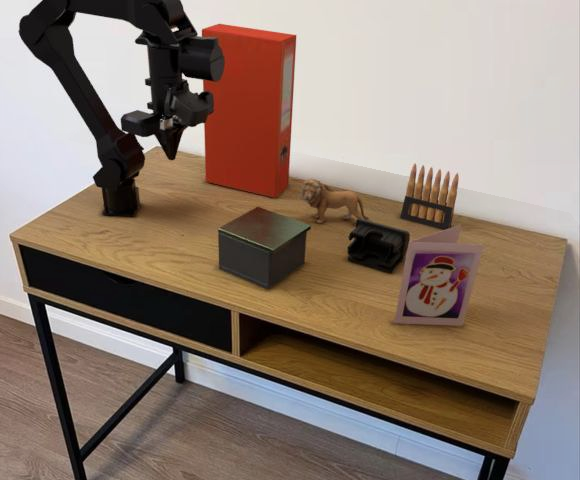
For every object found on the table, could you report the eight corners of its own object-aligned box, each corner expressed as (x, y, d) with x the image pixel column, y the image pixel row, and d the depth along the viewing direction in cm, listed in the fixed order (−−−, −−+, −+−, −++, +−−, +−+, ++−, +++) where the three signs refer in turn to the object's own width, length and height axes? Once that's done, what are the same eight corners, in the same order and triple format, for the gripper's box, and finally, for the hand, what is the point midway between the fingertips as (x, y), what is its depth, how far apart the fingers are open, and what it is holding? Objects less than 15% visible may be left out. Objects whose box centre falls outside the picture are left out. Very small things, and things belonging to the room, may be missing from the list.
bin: (304, 263, 119) (307, 228, 114) (268, 289, 111) (269, 252, 106) (257, 245, 123) (257, 210, 119) (218, 268, 116) (218, 232, 111)
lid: (310, 229, 114) (311, 225, 113) (273, 254, 106) (273, 249, 106) (257, 210, 119) (257, 206, 118) (217, 232, 111) (217, 228, 111)
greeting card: (394, 326, 104) (409, 244, 95) (389, 301, 110) (402, 222, 101) (463, 328, 104) (485, 247, 95) (454, 303, 110) (473, 225, 101)
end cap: (406, 258, 122) (412, 226, 118) (393, 274, 117) (399, 241, 113) (358, 244, 125) (362, 213, 121) (344, 259, 120) (347, 227, 116)
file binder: (222, 171, 152) (220, 22, 132) (288, 185, 147) (296, 34, 127) (205, 182, 146) (200, 29, 126) (274, 198, 141) (279, 41, 121)
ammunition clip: (400, 218, 136) (409, 163, 129) (403, 214, 137) (412, 160, 130) (448, 230, 132) (460, 175, 125) (451, 227, 134) (463, 172, 126)
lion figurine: (300, 226, 131) (302, 184, 125) (298, 214, 135) (300, 174, 129) (370, 227, 132) (376, 186, 126) (366, 215, 136) (371, 175, 131)
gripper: (162, 94, 102) (169, 186, 112) (234, 72, 115) (235, 156, 124) (113, 80, 107) (124, 169, 117) (188, 61, 120) (192, 143, 129)
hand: (171, 159), depth 122 cm, fingers closed
